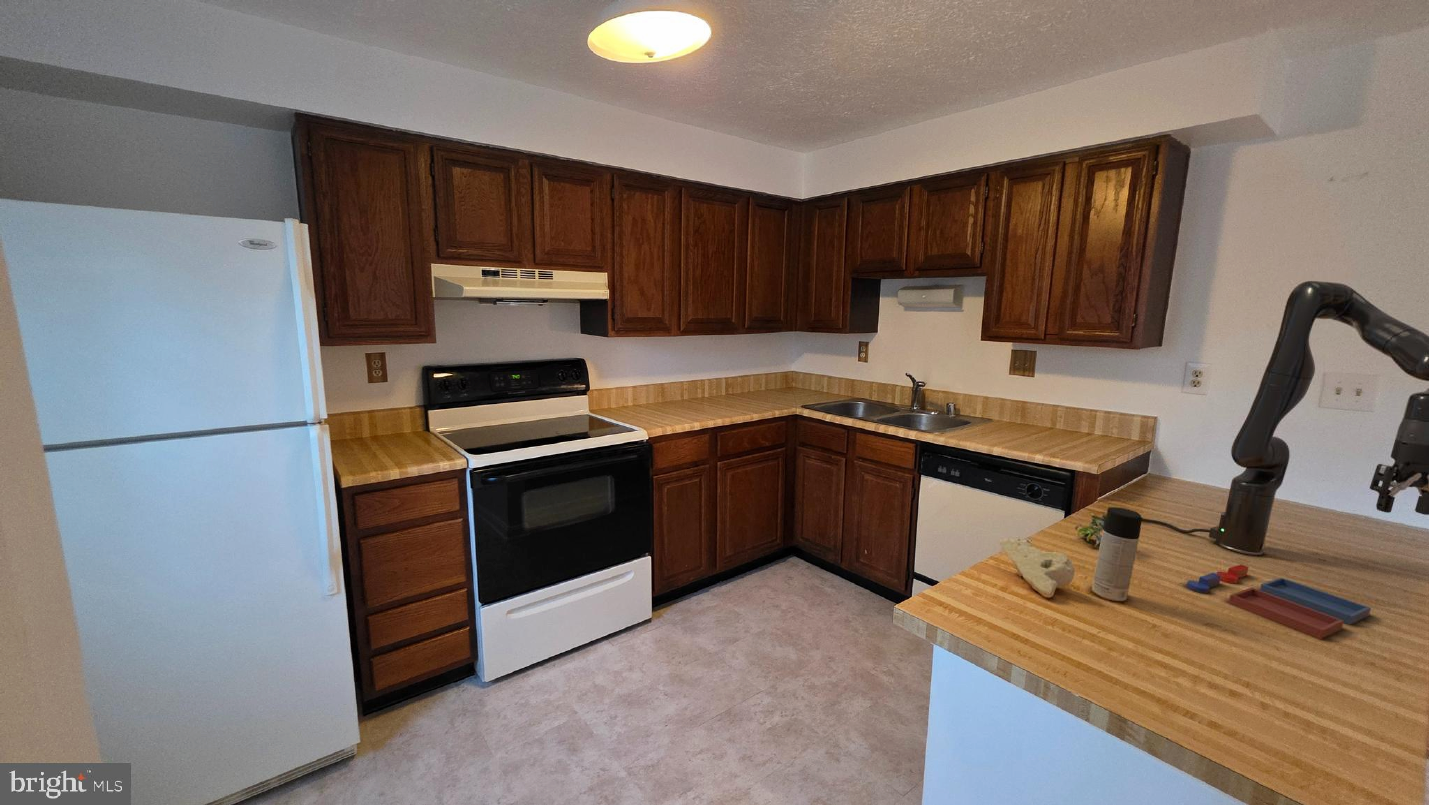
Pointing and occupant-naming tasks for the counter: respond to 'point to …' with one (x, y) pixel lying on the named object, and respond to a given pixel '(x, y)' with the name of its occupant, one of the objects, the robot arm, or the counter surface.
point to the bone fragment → (1039, 566)
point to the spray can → (1117, 554)
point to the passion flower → (1090, 530)
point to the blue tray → (1316, 600)
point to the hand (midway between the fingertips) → (1402, 512)
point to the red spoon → (1234, 573)
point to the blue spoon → (1204, 583)
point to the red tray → (1286, 612)
